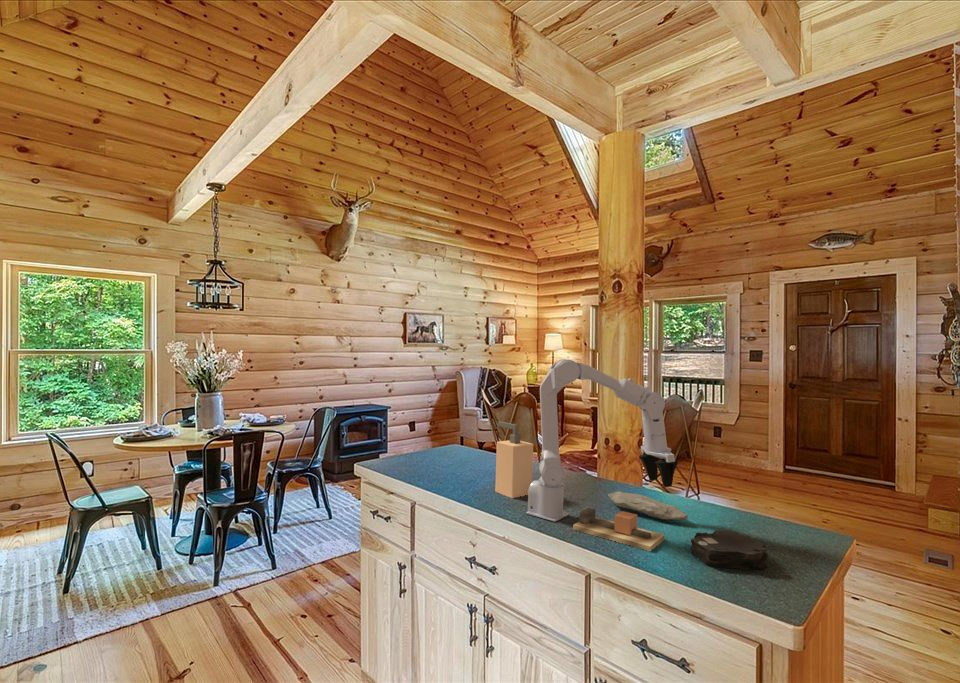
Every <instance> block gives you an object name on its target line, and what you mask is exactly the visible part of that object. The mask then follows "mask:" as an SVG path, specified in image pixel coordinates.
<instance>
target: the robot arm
mask: <svg viewBox="0 0 960 683" xmlns="http://www.w3.org/2000/svg"><path fill="white" fill-rule="evenodd" d="M576 380H579V381H582V380H589V381H592V382H594V383H596V384H599V385H601V386H603V387H605V388H608V389H610V390H612V391H613V393H614V395H615V397H616V398H618V399H619V400H620V399H621V401H624V402H626V403H629V404H631V405H633V406H635V407H638V408H639V409H640V410H641V416H642V417H641V418H642V419H641V420H642V429H643V430H642V431H643V437H644V438H643V439H644V445H641V446H640V450H641V454H640V455H639V456H638V457H639V460H640V461H641V463H642V465H643V467H644V468H645V472H646V475H647V477H648V479H649V481H655V480H658V478H659V477H658V476H659V474H660V478H661V482H662V486H663V487H664V488H669V487H672V486H673V481H674V480H673V479H674V474H675V471H676V469H677V466H678V464H679V462H678V460H676V459H675V454H674V453H672V448H671V447H668V442H667V435H666V426H665V418H664V409H665V407H666V401H665V399H664V398H663V397H662V395H661V393H658V392H655V391H651V389H650V387H649V386H643V385H641V384H637V383H635V381H634V379H633V378H628V379H627V378H622V379H619V380H618V379H616V378H614V377H612V376H610V375H608V374H607V373H604V372H602V371H600V370H598V369H596V368H594V367H593V366H591V365H588V364H586V363H585V364H584V363H581V362H577V361H575V360H573V359H565V358H563V359H562V358H561V359H560V360H557V361H556V362H555V363H553V365H551V366H550V368H549V370H548V372H547V373H546V375H545V377H544V378H543V380H542V381H541V383H540V386H539V399H540V400H539V402H540V403H539V404H540V406H539V407H540V423H541V424H540V427H541V428H540V430H541V458H540V461H539V464H538V472H539V473H540V475H541V476H540V477H539V478H538V480H535V479H534V480H532V483H531V484H530V487H529V491H528V495H527V511H526V512H525V513H526V514H527V515H529V516H534V517H537V518H540V519H544V520H548V521H551V522H557V521H560V520H562V519H565V518H566V517H567V516H569V515H570V514H569V513H570V512H565V511H564V490H565V489H564V488H565V486H564V485H565V483H564V480H565V470H564V468H563V467H562V464H561V463H562V462H561V455H560V446H559V445H560V442H559V421H558V419H559V417H558V393H559V392H560V391H562V389H563V388H564V387H565V386H567V385H569V384H571V383H573V382H575V381H576ZM659 459H661V460H659ZM658 471H659V472H658ZM658 473H659V474H658Z"/></svg>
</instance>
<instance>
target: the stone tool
mask: <svg viewBox="0 0 960 683" xmlns="http://www.w3.org/2000/svg"><path fill="white" fill-rule="evenodd" d="M607 497H608V498H610V500H612V503H613V504H615V505H616V506H617V507H619V508H622V509H626V510H632V511H636V512H639V513H644V514H646V515H647V516H649V517H651V518H653V519H658V520H662V521H673V520H682V521H683V520H684V521H685V520H688V519H689V516H688V515H687V513H685V512H684V511H682V510H681V509H679V508H678V507H677V506H674V505H671V504H667V503H663V502H662V501H658V500H656V499H654V498H651V497H648V496H645V495H643V494H638V493H630V492H624V491H615V492H611V493H608V494H607Z"/></svg>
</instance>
